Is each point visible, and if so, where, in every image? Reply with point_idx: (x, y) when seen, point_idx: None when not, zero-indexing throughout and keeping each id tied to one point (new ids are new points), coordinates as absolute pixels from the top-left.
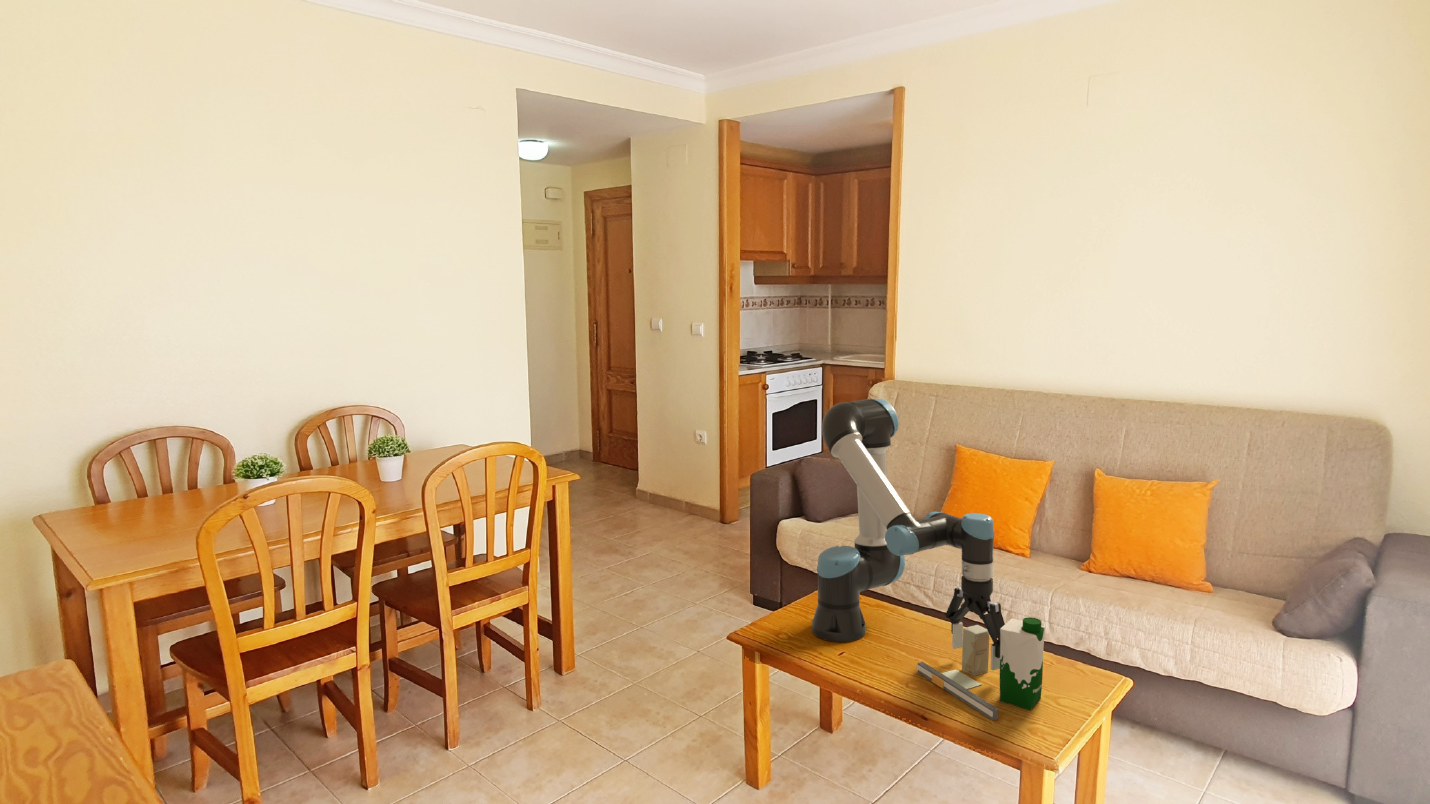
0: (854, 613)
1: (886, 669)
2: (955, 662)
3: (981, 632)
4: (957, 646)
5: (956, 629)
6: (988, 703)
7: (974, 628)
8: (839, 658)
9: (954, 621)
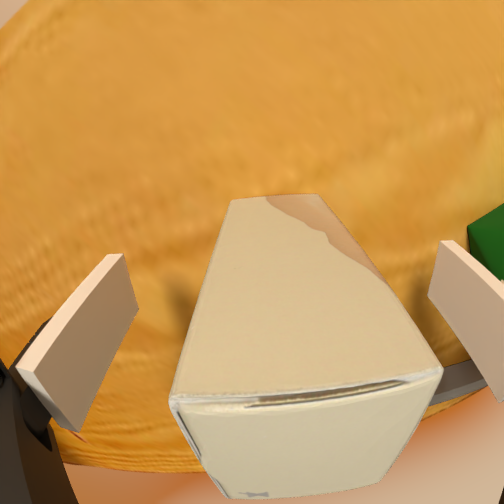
0: None
1: (161, 434)
2: (166, 269)
3: (399, 450)
4: (128, 295)
5: (84, 388)
6: (483, 380)
7: (285, 473)
8: (98, 448)
9: (54, 441)
